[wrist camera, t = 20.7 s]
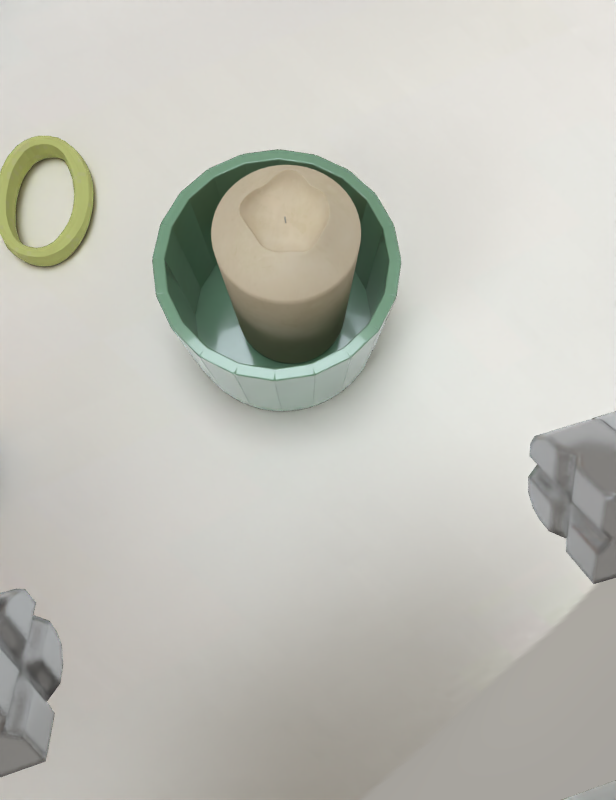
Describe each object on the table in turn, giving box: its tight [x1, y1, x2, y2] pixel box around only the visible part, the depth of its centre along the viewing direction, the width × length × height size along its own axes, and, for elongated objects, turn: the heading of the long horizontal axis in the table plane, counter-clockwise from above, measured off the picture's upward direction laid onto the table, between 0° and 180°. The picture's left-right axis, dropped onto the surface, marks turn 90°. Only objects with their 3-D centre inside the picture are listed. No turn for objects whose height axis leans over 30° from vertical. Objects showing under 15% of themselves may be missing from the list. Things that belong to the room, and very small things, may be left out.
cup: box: [152, 149, 401, 411], centre depth 25 cm, size 10×10×7 cm
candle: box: [211, 165, 361, 363], centre depth 23 cm, size 6×6×10 cm
